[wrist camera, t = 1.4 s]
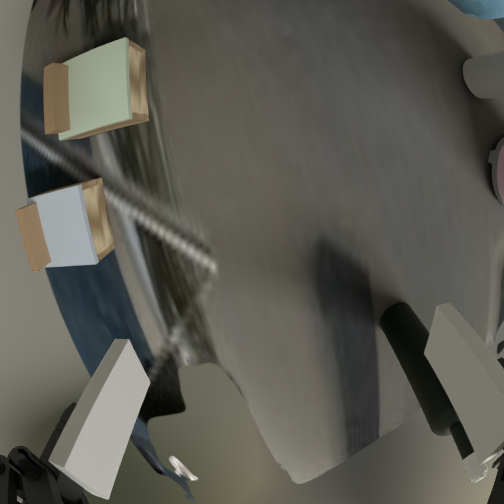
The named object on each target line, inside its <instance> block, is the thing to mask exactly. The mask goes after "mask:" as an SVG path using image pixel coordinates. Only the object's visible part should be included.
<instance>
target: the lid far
mask: <svg viewBox="0 0 504 504" xmlns="http://www.w3.org/2000/svg"><path fill="white" fill-rule="evenodd" d="M27 203H28V205H27V206H25V207H22V208H20V209H18V210H16V215H17V220H18V224H19V228H20V232H21V236H22V239H23V243H24V247H25V250H26V253H27V257H28V259H29V263H30V266H31V269H32V271H40V270H41V269H42V268H44V267H59V266H75V265H92V264H97V263H98V262H99V260H98V257H97V253H96V249H95V245H94V242H93V238H92V233H91V229H90V225H89V220H88V216H87V211H86V206H85V201H84V196H83V190H82V185H81V184H80V185H76V186H72V187H68V188H64V189H60V190H56V191H52V192H49V193H45V194H42V195H38V196H35V197H31V198H29V199H27Z"/></svg>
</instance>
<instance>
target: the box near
mask: <svg viewBox="0 0 504 504" xmlns="http://www.w3.org/2000/svg"><path fill="white" fill-rule="evenodd" d="M129 79H130V97H131V111H132V119H130V120H126V121H122V122H119V123H115V124H111V125H108V126H104V127H101V128H98V129H94V130H91V131H88V132H85V133H82V134H79V135H76V136H73V137H70V138H67V139H66V140H68V139H79V138H86V137H90V136H93V135H96V134H99V133H103V132H106V131H110V130H114V129H117V128H121V127H125V126H129V125H133V124H138V123H142V122H146V121H149V114H148V102H147V87H146V68H145V50H144V49H143V48H141V47H140V46H138V45H137V44H135V43H134V42H132V41H129Z"/></svg>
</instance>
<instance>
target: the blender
mask: <svg viewBox="0 0 504 504" xmlns="http://www.w3.org/2000/svg"><path fill="white" fill-rule="evenodd" d="M488 163H491V164H492V182H493V187H494V191H495V194H496V196H497V198H498V200H499V202H500V204H501V205H503V206H504V137H503V138H502V139H501V140H500V141H499V143H498V144H497V146H496V149H495V150H491V151H490V153H489V158H488Z"/></svg>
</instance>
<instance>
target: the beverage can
mask: <svg viewBox="0 0 504 504" xmlns="http://www.w3.org/2000/svg"><path fill="white" fill-rule="evenodd" d="M463 77H464V80H465V83H466V85H467V86H468V88H469V90H470V91H471V92H472V93H473V94H474V95H475V96H476V97H478V98H480V99H493V98H504V51H503V52H498V53H493V54H488V55H484V56H480V57H475V58H471V59H468V60H466V61H465V63H464V65H463Z"/></svg>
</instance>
